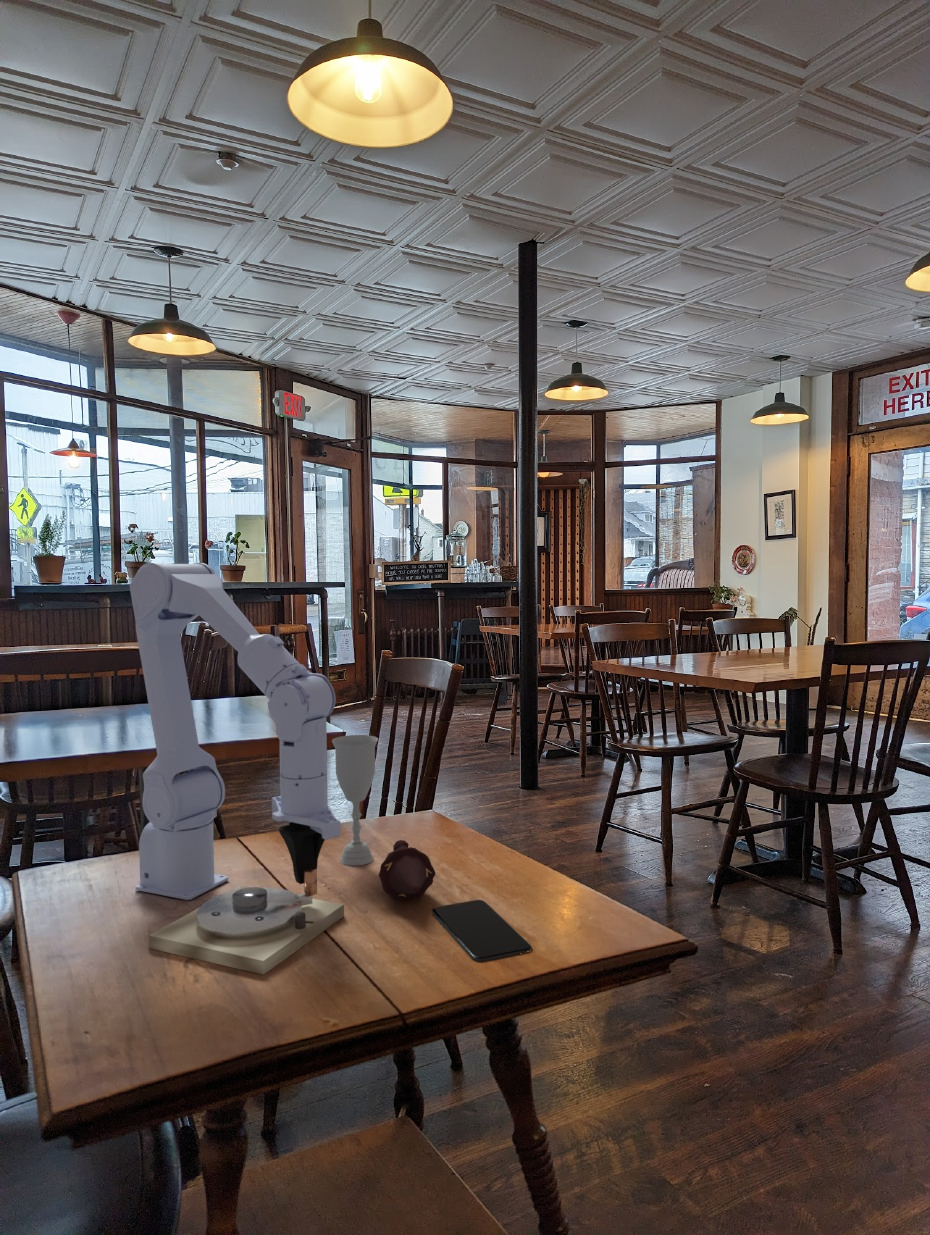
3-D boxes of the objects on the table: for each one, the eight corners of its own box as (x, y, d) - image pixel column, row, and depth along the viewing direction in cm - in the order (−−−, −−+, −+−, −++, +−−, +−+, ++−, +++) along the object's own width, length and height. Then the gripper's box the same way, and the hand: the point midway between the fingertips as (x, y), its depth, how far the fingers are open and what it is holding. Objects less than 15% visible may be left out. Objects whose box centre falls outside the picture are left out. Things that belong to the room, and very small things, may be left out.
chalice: (376, 868, 117) (374, 744, 116) (329, 868, 117) (327, 745, 116) (382, 851, 125) (380, 734, 124) (338, 851, 125) (336, 735, 124)
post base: (148, 948, 93) (148, 922, 93) (240, 896, 107) (239, 874, 107) (263, 974, 86) (263, 947, 86) (344, 916, 101) (343, 892, 101)
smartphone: (535, 955, 91) (483, 904, 105) (535, 947, 91) (483, 897, 105) (475, 967, 89) (429, 913, 102) (475, 960, 89) (429, 906, 102)
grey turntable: (210, 946, 89) (209, 910, 88) (187, 907, 99) (187, 875, 99) (334, 918, 96) (333, 884, 95) (301, 884, 106) (300, 854, 106)
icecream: (452, 866, 100) (427, 838, 115) (394, 856, 99) (376, 829, 113) (439, 922, 100) (416, 887, 114) (381, 913, 98) (365, 879, 113)
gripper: (249, 767, 104) (251, 872, 105) (301, 791, 92) (303, 908, 93) (299, 759, 108) (301, 859, 109) (355, 781, 97) (356, 892, 97)
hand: (305, 881), depth 101 cm, fingers closed, pressing on grey turntable
